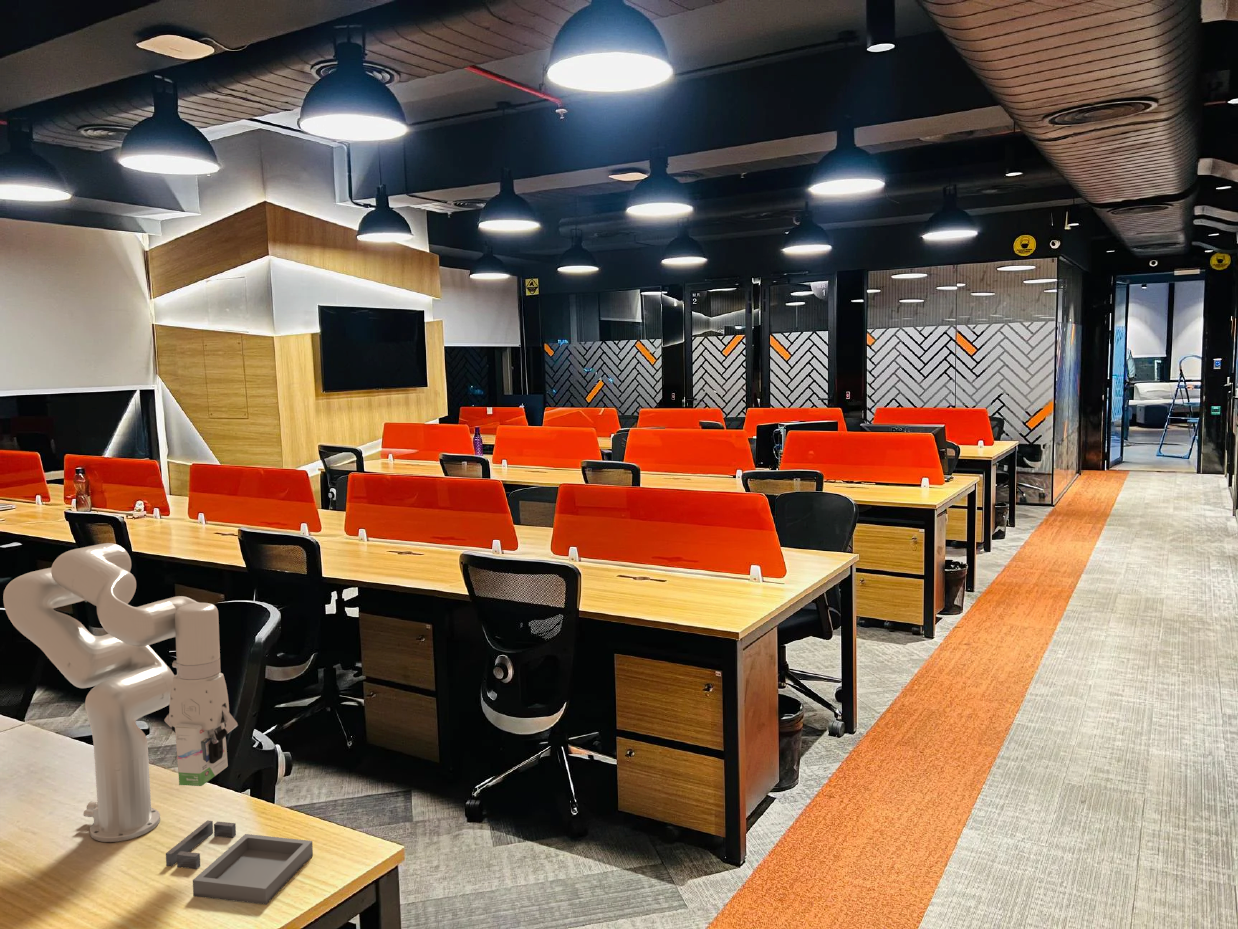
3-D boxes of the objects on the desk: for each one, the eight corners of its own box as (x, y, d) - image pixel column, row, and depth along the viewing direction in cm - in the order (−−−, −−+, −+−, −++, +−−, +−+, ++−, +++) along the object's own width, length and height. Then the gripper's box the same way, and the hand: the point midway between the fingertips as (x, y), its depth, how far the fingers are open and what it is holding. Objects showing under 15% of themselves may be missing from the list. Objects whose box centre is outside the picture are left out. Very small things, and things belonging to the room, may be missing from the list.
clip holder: (166, 866, 170) (165, 853, 170) (207, 832, 182) (207, 820, 182) (196, 869, 169) (195, 856, 168) (235, 835, 181) (235, 823, 181)
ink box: (206, 766, 178) (200, 709, 177) (229, 767, 177) (224, 709, 176) (177, 786, 170) (171, 726, 169) (202, 787, 169) (196, 727, 168)
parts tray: (193, 896, 160) (192, 880, 160) (246, 848, 176) (245, 834, 176) (266, 904, 158) (265, 888, 157) (312, 855, 174) (312, 841, 173)
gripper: (145, 671, 169) (149, 763, 171) (227, 678, 166) (230, 772, 168) (171, 659, 176) (175, 747, 178) (250, 665, 173) (253, 755, 175)
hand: (202, 758), depth 173 cm, fingers closed on ink box, 5 cm apart
